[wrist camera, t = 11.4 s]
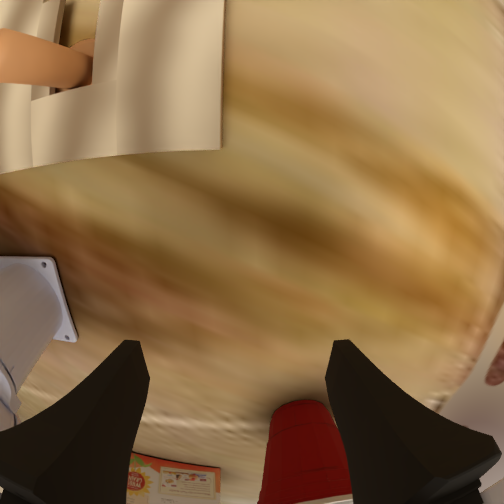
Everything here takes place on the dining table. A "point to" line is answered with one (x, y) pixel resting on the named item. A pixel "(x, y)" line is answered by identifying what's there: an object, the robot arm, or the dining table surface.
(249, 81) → the dining table surface
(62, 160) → the keyhole board
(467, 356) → the dining table surface
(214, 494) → the cracker box
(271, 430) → the plastic cup
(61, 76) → the keyhole peg
